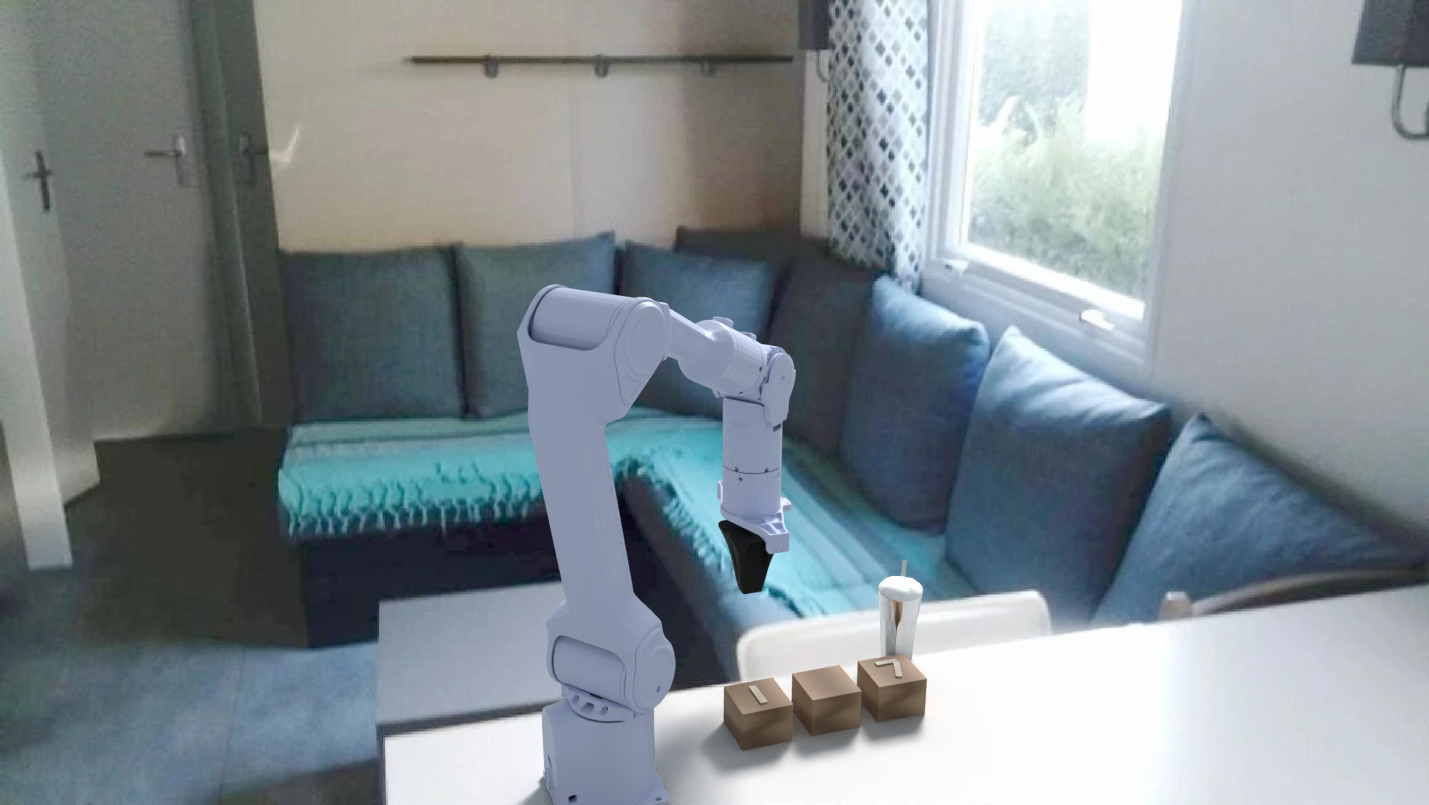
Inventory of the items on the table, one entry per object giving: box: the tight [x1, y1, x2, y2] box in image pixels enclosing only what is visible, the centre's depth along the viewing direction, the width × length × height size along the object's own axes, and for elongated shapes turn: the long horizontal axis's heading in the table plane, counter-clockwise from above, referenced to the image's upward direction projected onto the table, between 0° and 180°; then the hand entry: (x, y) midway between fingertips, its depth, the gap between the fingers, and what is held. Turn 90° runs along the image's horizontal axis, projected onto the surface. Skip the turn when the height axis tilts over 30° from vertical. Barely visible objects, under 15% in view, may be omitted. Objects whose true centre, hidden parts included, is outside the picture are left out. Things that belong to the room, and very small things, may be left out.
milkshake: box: [877, 559, 924, 662], centre depth 120 cm, size 4×5×10 cm
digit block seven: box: [856, 654, 928, 723], centre depth 112 cm, size 5×5×4 cm
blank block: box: [790, 664, 862, 737], centre depth 110 cm, size 5×5×4 cm
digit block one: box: [723, 677, 794, 752], centre depth 108 cm, size 5×5×4 cm
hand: (750, 590), depth 115 cm, fingers closed
